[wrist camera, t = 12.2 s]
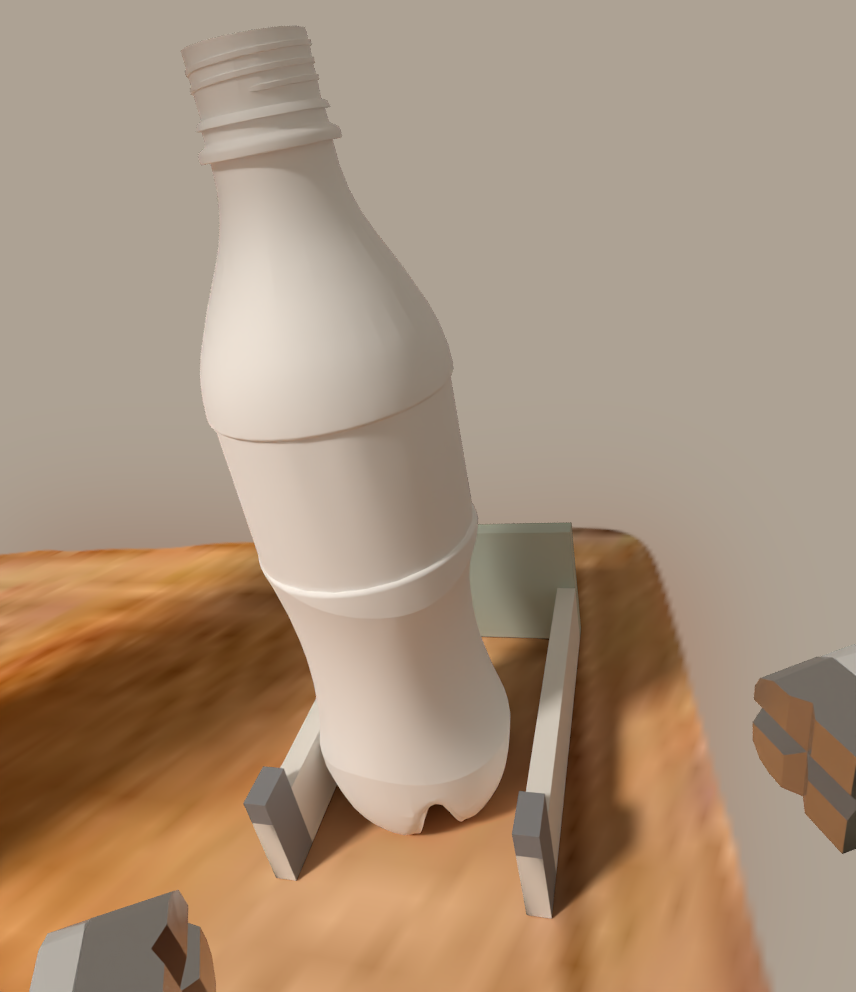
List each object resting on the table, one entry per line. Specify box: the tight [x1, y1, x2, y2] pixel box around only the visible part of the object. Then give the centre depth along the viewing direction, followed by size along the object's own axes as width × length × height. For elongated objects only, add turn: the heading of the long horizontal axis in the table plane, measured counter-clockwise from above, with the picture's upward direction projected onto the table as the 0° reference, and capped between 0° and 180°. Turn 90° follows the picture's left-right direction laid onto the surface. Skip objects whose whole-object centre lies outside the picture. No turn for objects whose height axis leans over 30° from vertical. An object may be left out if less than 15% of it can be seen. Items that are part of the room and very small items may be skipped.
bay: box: [244, 523, 581, 919], centre depth 28 cm, size 10×14×6 cm
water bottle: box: [181, 26, 510, 835], centre depth 22 cm, size 7×7×25 cm
